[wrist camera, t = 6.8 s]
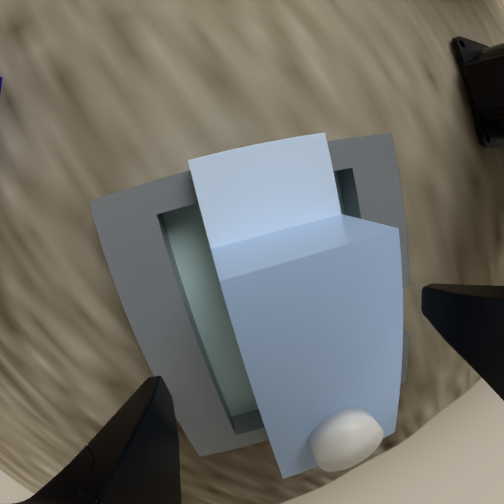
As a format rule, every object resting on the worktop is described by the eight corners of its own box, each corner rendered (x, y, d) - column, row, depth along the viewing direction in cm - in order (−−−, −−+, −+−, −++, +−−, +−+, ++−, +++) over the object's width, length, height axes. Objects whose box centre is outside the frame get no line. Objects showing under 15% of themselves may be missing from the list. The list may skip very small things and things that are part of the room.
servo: (300, 141, 10) (401, 108, 5) (340, 398, 13) (397, 479, 8) (189, 165, 10) (183, 140, 4) (264, 425, 13) (299, 521, 7)
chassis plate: (371, 137, 11) (391, 133, 9) (392, 369, 14) (406, 382, 12) (101, 199, 10) (88, 201, 8) (197, 436, 12) (199, 456, 11)
